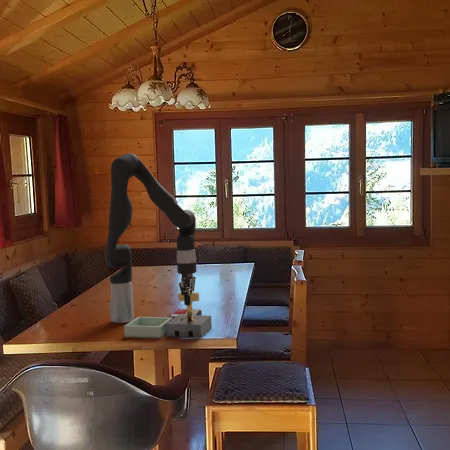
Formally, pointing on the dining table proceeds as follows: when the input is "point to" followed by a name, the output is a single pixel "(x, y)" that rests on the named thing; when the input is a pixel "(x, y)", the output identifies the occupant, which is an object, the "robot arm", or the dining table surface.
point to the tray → (147, 327)
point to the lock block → (189, 326)
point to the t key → (189, 307)
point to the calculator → (185, 312)
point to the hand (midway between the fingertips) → (188, 303)
